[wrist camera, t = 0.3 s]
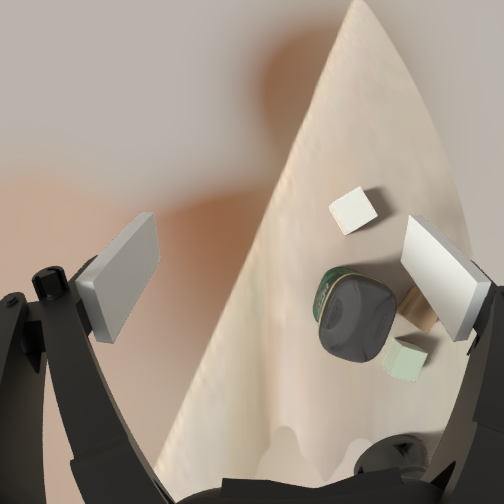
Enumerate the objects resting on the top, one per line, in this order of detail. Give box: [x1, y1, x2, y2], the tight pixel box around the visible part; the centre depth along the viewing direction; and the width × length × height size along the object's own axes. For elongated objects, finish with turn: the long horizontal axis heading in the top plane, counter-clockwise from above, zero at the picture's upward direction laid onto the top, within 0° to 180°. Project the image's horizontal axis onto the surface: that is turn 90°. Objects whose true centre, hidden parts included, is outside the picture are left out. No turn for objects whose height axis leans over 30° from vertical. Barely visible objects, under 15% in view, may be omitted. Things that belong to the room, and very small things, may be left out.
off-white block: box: [329, 186, 378, 235], centre depth 45 cm, size 5×5×5 cm
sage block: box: [382, 338, 428, 382], centre depth 43 cm, size 5×5×5 cm
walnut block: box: [396, 286, 438, 334], centre depth 43 cm, size 5×5×5 cm
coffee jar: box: [313, 267, 397, 363], centre depth 38 cm, size 10×8×19 cm
